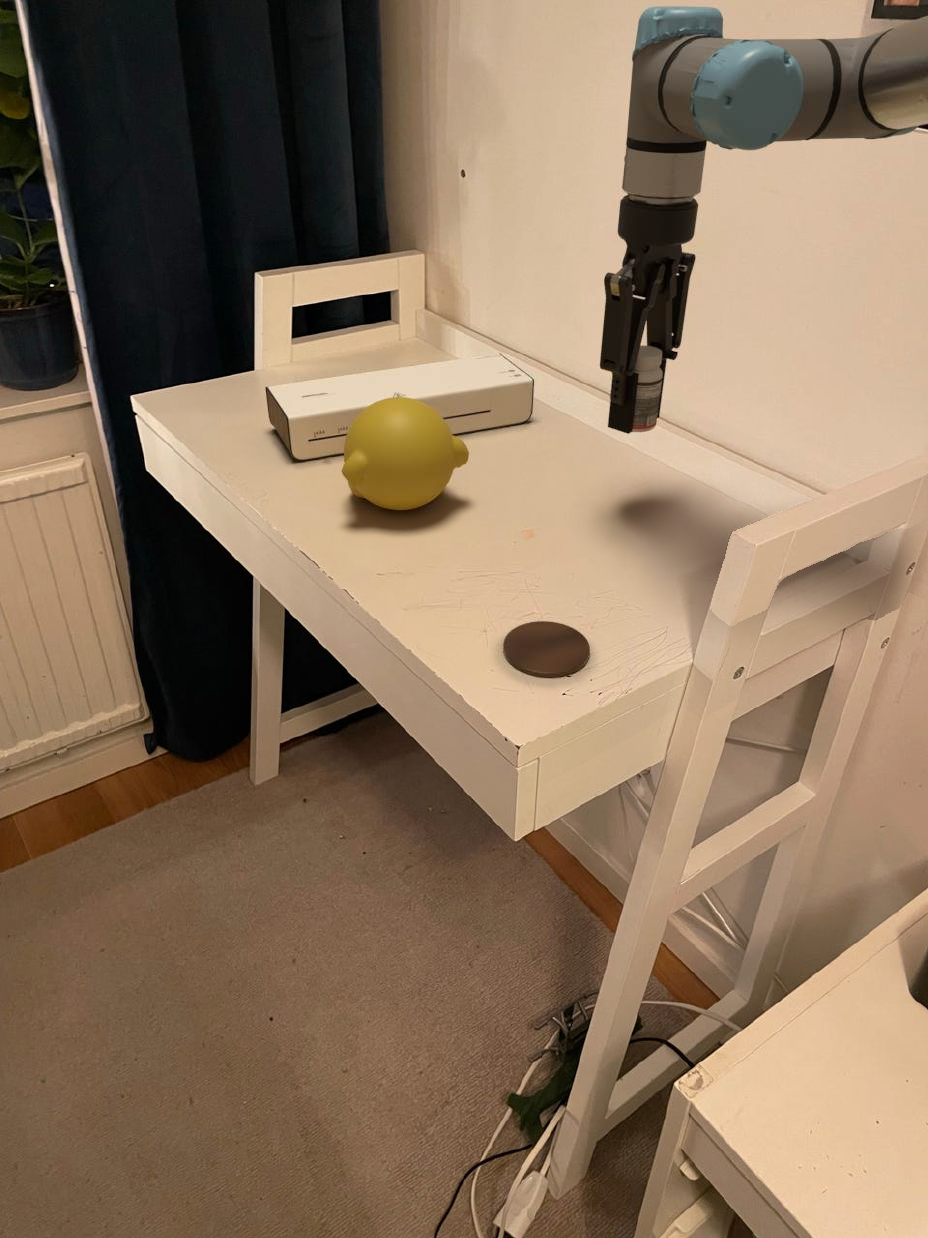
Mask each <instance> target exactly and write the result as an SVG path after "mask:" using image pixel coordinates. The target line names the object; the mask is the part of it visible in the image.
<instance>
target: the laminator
mask: <svg viewBox="0 0 928 1238" xmlns="http://www.w3.org/2000/svg"><path fill="white" fill-rule="evenodd" d="M264 389H265V390H264V391H265V397H266V405H267V413H268V420H269V422H270V424H271V426H273V427H274V429H275V431H276V432H277V433H278V434H277V435H279V437H280V438H281V440H282V441H283V444H284V445H285V446H286V448H287V449H288V451H289V453H290V456H291V457H292V459H293V460H295V461H298V462H307V461H308V462H309V461H314V460H319V459H326V458H331V457H332V458H333V457H338V456H344V445H345V440H346V436H347V433H348V431H349V428H350V427H351V425H352V423H353V421H354V420H355V419H356V417H357V416H358V415H359V414H360V413H361V412H362V411H363V410H364V409H366V408H367V407H368V406H370V405H372V404H373V403H375V402H377V401H380V400H383V399H387V398H393V397H405V398H412V399H415V400H418V401H421V402H423V403H425V404H427V405H428V406H430V407H431V408H433V409H434V410H435V411H436V412H437V413H438V414H439V415H440V416H441V417H442V418H443V419H444V420H445V422H446V423H447V425H448V427H449V429H450V431H451V433H452V435H453V436H460V435H464V434H465V435H466V434H470V433H478V432H483V431H489V430H496V429H501V428H507V427H513V426H517V425H518V426H519V425H522V424H525V423H527V422H528V421H529V420H530V419H531V417H532V415H533V410H534V409H533V408H534V392H535V391H534V390H535V379H534V378H533V377H532V376H530V375H529V374H528V373H526V371H524V370H523V369H521V368H520V367H519V366H518V365H516V364H515V363H514V362H512V361H511V360H510V359H508V358H507V357H506V356H505V355H503V354H502V353H500V352H499V353H493V354H485V355H479V356H478V355H477V356H472V357H471V356H470V357H465V358H458V359H457V358H456V359H450V360H444V361H436V362H430V363H422V364H416V365H409V366H402V367H395V368H388V369H387V368H386V369H381V370H374V371H373V370H372V371H367V372H361V373H360V372H359V373H352V374H345V375H339V376H333V377H325V378H318V379H311V380H304V381H297V382H290V383H289V382H288V383H283V384H276V385H268V386H265V388H264Z"/></svg>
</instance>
